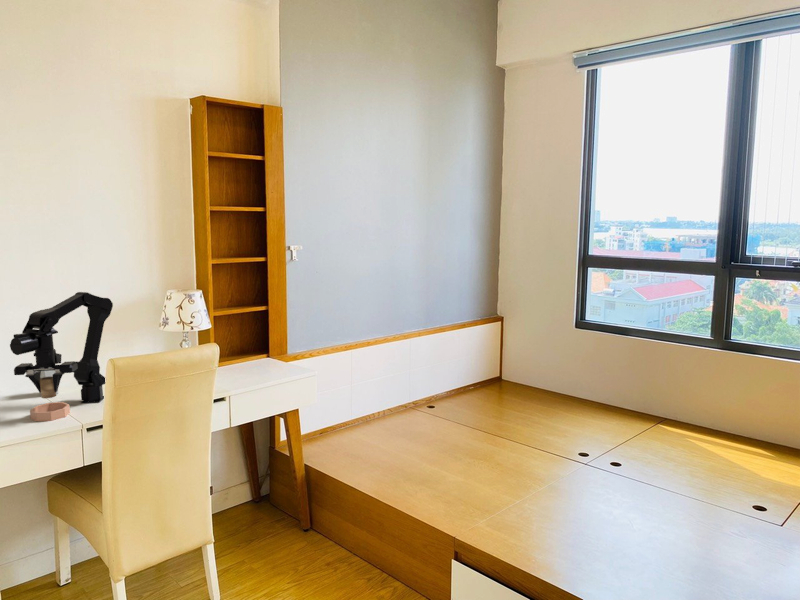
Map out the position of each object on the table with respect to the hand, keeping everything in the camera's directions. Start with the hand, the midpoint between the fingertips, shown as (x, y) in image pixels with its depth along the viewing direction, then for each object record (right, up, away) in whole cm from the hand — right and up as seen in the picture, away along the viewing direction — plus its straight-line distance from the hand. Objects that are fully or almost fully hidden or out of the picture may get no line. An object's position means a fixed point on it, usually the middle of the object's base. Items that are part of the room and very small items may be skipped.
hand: (48, 392), depth 220 cm
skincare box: (-15, -5, +27) cm, 31 cm away
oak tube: (0, -2, 0) cm, 2 cm away
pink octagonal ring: (0, -8, +1) cm, 9 cm away
